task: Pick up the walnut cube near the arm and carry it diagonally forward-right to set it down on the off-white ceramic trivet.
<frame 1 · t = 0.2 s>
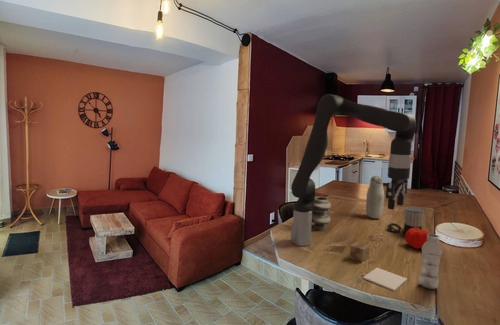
hand: (395, 207, 116), 28 cm above the table, tool pointing down, fingers open, 8 cm apart
trivet: (385, 279, 116), on the table
white bottle: (373, 218, 195), on the table
cube: (359, 258, 135), on the table
plastic bottle: (427, 287, 112), on the table
tomato: (417, 247, 149), on the table
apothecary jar: (319, 228, 174), on the table
milk frother: (403, 233, 168), on the table
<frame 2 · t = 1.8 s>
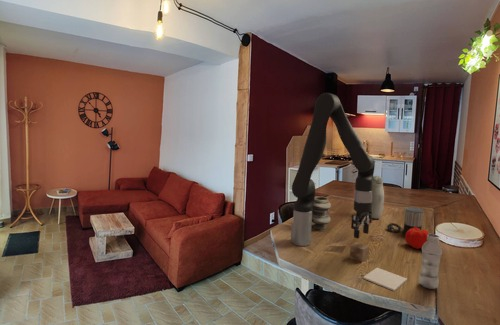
hand: (361, 235, 133), 11 cm above the table, tool pointing down, fingers open, 8 cm apart
nothing on the table moved.
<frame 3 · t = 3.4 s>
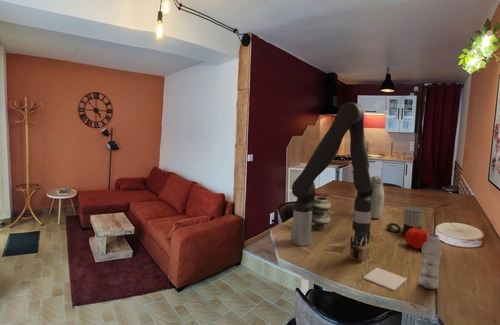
hand: (359, 255, 135), 1 cm above the table, tool pointing down, fingers closed on cube, 6 cm apart
cube: (359, 258, 135), on the table, touching gripper
everything else where it was.
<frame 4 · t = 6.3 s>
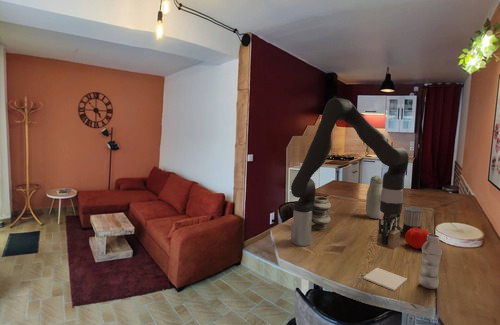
hand: (388, 242, 114), 15 cm above the table, tool pointing down, fingers closed on cube, 6 cm apart
cube: (387, 245, 115), point 14 cm above the table, touching gripper
everything else where it was.
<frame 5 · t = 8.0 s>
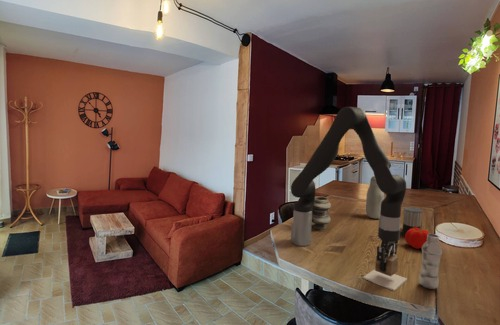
hand: (386, 268, 116), 5 cm above the table, tool pointing down, fingers closed on cube, 6 cm apart
cube: (386, 271, 116), point 3 cm above the table, touching gripper
everything else where it was.
when the fingers open (3 cm above the table, at t = 9.3 s): cube drops 1 cm, resting on trivet.
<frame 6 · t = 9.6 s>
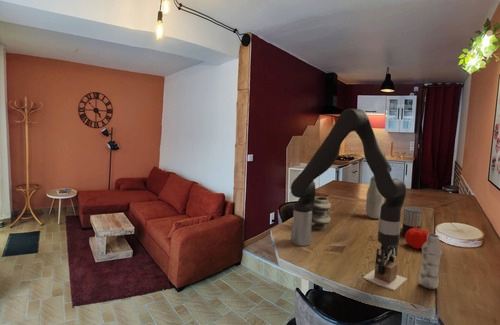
hand: (385, 270, 116), 4 cm above the table, tool pointing down, fingers open, 8 cm apart
cube: (385, 277, 116), point 1 cm above the table, touching trivet
everything else where it was.
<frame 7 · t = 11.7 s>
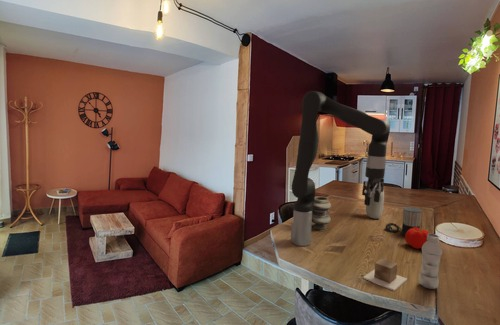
hand: (371, 203, 129), 26 cm above the table, tool pointing down, fingers open, 8 cm apart
nothing on the table moved.
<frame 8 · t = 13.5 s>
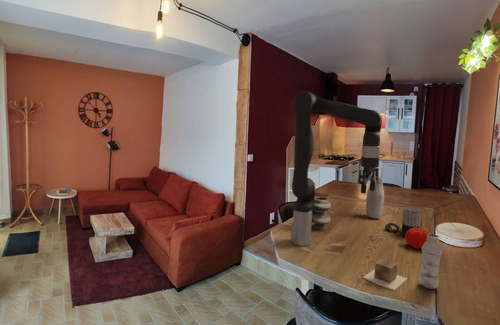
hand: (367, 191, 134), 30 cm above the table, tool pointing down, fingers open, 8 cm apart
at the end: cube inside the target area on the trivet (0.0 cm from its centre), point 0.6 cm above the trivet's base; cube tilted 0°; the gripper is holding nothing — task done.
